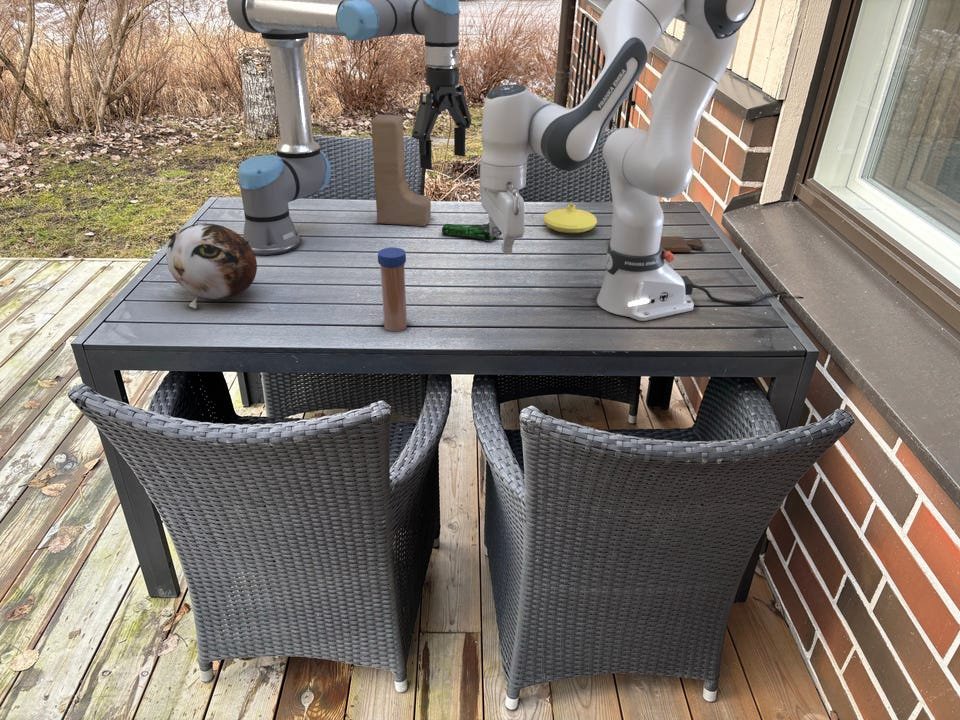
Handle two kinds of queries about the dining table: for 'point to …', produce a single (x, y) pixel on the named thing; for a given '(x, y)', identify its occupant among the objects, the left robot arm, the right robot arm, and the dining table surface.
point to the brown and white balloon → (211, 261)
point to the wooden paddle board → (679, 244)
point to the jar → (394, 298)
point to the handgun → (469, 231)
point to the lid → (391, 257)
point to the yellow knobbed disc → (570, 220)
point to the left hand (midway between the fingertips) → (443, 161)
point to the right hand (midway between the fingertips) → (500, 243)
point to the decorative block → (394, 176)
